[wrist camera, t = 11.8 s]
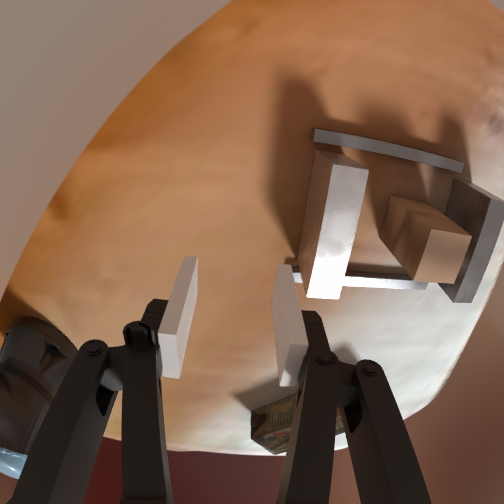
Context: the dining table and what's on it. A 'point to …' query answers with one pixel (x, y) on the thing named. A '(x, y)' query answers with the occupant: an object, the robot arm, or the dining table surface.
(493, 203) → the vise body
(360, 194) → the block
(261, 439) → the beverage carton
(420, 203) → the block
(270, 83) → the dining table surface
